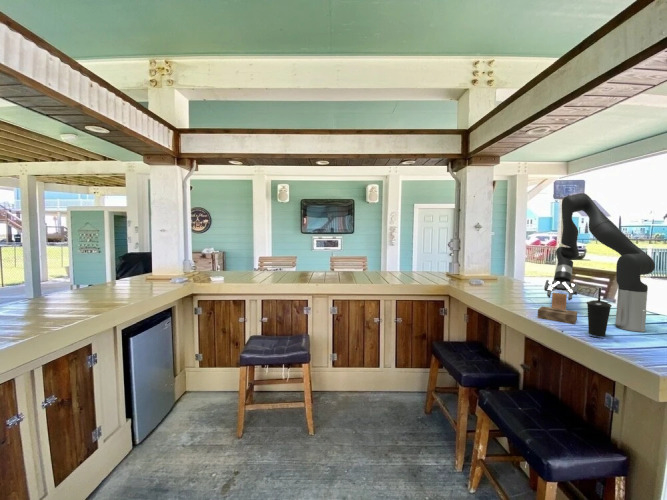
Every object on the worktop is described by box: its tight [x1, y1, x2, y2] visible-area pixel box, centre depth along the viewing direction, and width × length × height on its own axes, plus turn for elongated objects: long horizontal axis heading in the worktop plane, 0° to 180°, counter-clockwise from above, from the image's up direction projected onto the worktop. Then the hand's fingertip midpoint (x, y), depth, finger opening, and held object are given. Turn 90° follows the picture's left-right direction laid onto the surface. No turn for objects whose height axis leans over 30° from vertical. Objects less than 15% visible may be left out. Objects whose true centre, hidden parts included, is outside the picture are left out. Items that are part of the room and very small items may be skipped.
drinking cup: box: [586, 287, 613, 340], centre depth 122 cm, size 8×8×20 cm
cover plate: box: [551, 292, 568, 310], centre depth 162 cm, size 6×2×10 cm, turn 47°
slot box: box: [537, 305, 578, 325], centre depth 144 cm, size 14×10×5 cm
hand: (558, 298), depth 160 cm, fingers open, 8 cm apart
